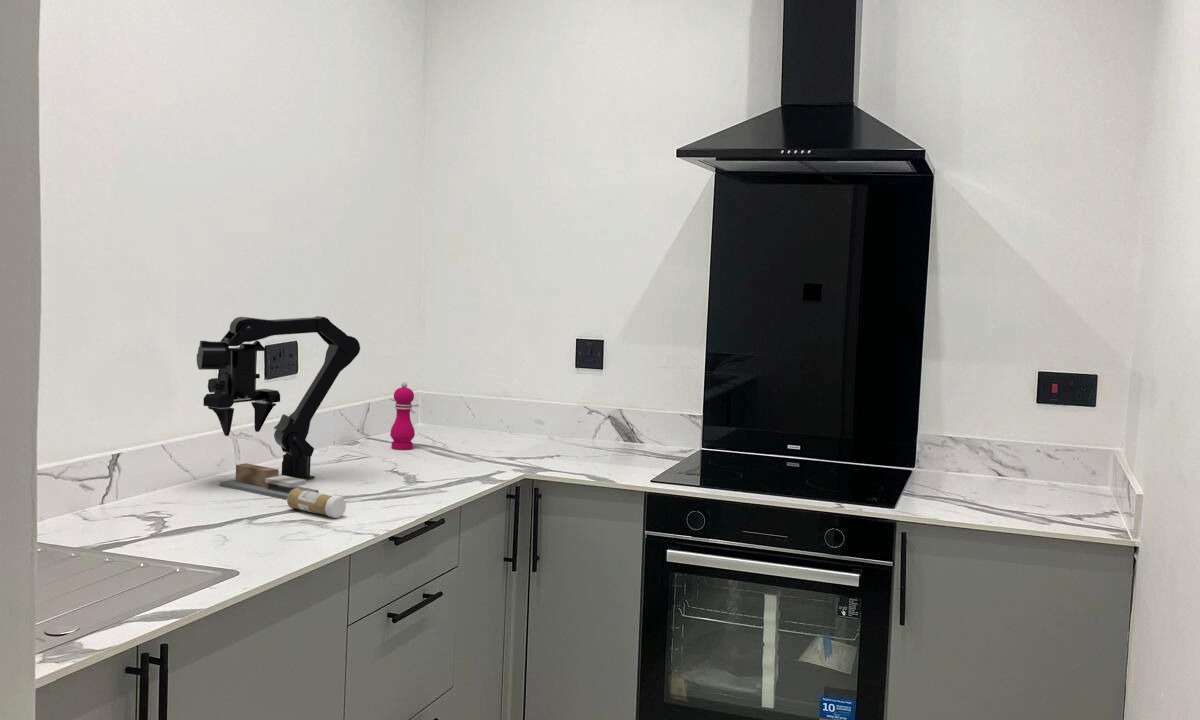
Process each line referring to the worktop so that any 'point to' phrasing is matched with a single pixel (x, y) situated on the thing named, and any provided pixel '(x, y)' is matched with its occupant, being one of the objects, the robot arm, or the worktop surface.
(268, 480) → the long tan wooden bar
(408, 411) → the pepper mill
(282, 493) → the tool mat
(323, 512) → the sprinkles bottle
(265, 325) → the robot arm
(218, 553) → the worktop surface
